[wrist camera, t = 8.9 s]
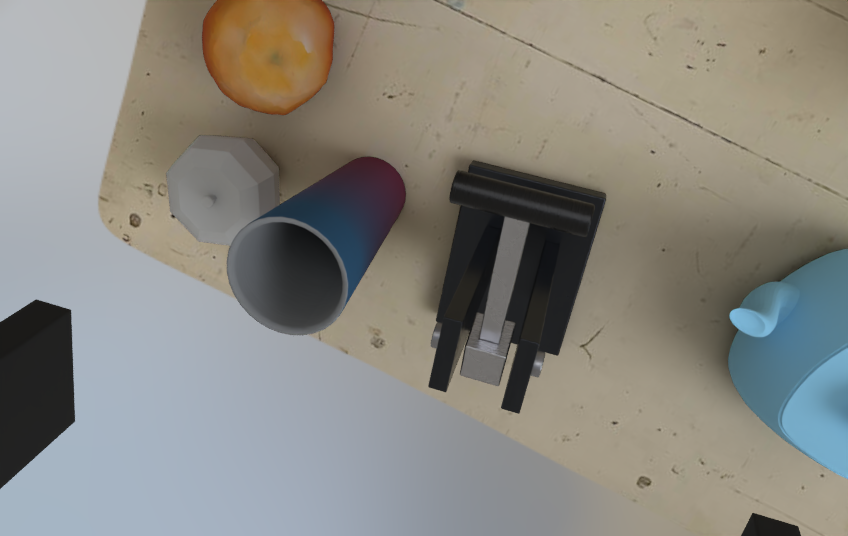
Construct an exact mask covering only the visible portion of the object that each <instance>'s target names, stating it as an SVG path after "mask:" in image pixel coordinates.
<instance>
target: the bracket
mask: <svg viewBox="0 0 848 536" xmlns="http://www.w3.org/2000/svg"><path fill="white" fill-rule="evenodd" d="M468 173H472V174H476V175H480V176H484V177H488V178H492V179H496V180H500V181H504V182H508V183H512V184H516V185H520V186H524V187H528V188H532V189H536V190H539V191H543V192H547V193H551V194H555V195H559V196H563V197H567V198H571V199H575V200H579V201H583V202H587V203H591V204H594V205H595V209H594V213H593V217H592V221H591V225H590V228H589V231H588V234H587V236H586V237H582V236H578V235H574V234H570V233H566V232H562V231H558V230H555V229H551V228H547V227H543V226H539V225H535V224H531V223H530V225H529V229H528V233H527V237H526V241H525V245H524V249H523V253H522V257H521V261H520V265H519V269H518V273H517V277H516V281H515V285H514V289H513V293H512V297H511V301H510V305H509V309H508V313H507V317H506V320H507V321H510V322H514V323H515V324H516V325H515V329H514V333H513V336H512V340H511V343H514V344H517V348H516V352H515V356H514V359H513V363H512V367H511V371H510V375H509V379H508V383H507V387H506V390H505V394H504V398H503V402H502V406H501V408H502V409H505V410H508V411H511V412H515V413H518V414H519V413H520V410H521V406H522V403H523V399H524V396H525V392H526V389H527V386H528V382H529V379H530V375H531V376H535V377H539V375H540V372H541V369H542V365H543V362H544V358H545V352H546V353H550V354H553V355H559V351H560V348H561V345H562V342H563V338H564V335H565V332H566V329H567V325H568V322H569V319H570V316H571V312H572V309H573V306H574V302H575V299H576V296H577V293H578V289H579V286H580V283H581V280H582V276H583V273H584V270H585V267H586V263H587V260H588V257H589V254H590V250H591V247H592V244H593V240H594V237H595V234H596V231H597V227H598V224H599V221H600V218H601V214H602V211H603V208H604V205H605V201H606V194H605V193H602V192H598V191H594V190H590V189H586V188H582V187H578V186H574V185H570V184H566V183H562V182H558V181H554V180H550V179H546V178H542V177H538V176H534V175H530V174H526V173H522V172H518V171H514V170H510V169H506V168H502V167H498V166H494V165H490V164H486V163H482V162H478V161H472V163H471V164H470V166H469V170H468ZM503 222H504V216H500V215H496V214H493V213H489V212H485V211H481V210H477V209H473V208H469V207H466V206H462V205H461V207H460V211H459V216H458V221H457V225H456V230H455V235H454V239H453V244H452V248H451V253H450V258H449V262H448V267H447V272H446V276H445V281H444V285H443V290H442V295H441V299H440V304H439V309H438V313H437V318H436V321H437V324H436V326H435V329H434V332H433V336H432V340H431V347H434V348H437V349H436V354H435V359H434V363H433V368H432V372H431V377H430V381H429V386H428V387H430V388H433V389H436V390H440V391H443V392H446V391H447V389H448V386H449V383H450V381H451V378H452V376H453V373H454V371H455V368H456V365H457V363H458V360H459V358H460V355H461V352H462V350H463V347H464V345H465V342H466V340H467V337H468V334H469V332H470V330H471V327H472V324H473V321H474V317H475V314H476V313H477V312H478V313H482V314H484V311H485V307H486V302H487V297H488V293H489V288H490V283H491V278H492V274H493V269H494V264H495V259H496V255H497V250H498V245H499V241H500V236H501V231H502V226H503Z"/></svg>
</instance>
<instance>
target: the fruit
mask: <svg viewBox="0 0 848 536" xmlns="http://www.w3.org/2000/svg"><path fill="white" fill-rule="evenodd" d="M333 39H334V21H333V19H332V16H331V13H330V11H329V9H328V8H327V6H326V5H325V3H324V2H323V1H322V0H217V1H216V2H215V3H214V5H213V6H212V7H211V8H210V10H209V11H208V13H207V15H206V17H205V19H204V21H203V32H202V43H203V55H204V59H205V63H206V66H207V68H208V71H209V73H210V74H211V76H212V77H213V79H214V80H215V82H216V84H217V85H218V87H219V89H220V90H221V91H222V92H223V93H224V94H225V95H226V96H227V97H229V98H230V99H231V100H233V101H234V102H235V103H237V104H238V105H240V106H243V107H246V108H249V109H252V110H254V111H258V112H262V113H267V114H279V115H286V114H288V113H290V112H291V111H293V110H295V109H296V108H298V107H299V106H301V105H302V104H304V103H305V102H307V101H308V100H309V99H311V98H312V97H313V96H314V95H315V94H316V93H317V92H318V91H319V90H320V89H321V87H322V86H323V85H324V84H325V83H326V81H327V77H328V74H329V70H330V67H331V64H332V60H333Z"/></svg>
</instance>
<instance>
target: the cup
mask: <svg viewBox="0 0 848 536" xmlns="http://www.w3.org/2000/svg"><path fill="white" fill-rule="evenodd" d="M405 196H406V193H405V186H404V183H403V180H402V178H401V176H400V175H399V173H398V172H397V171H396V170H395V168H393V167H392V166H391V165H390V164H389V163H387V162H385V161H384V160H381V159H378V158H374V157H361V158H357V159H355V160H353V161H351V162H349V163H348V164H346V165H344V166H343V167H341V168H339V169H338V170H336V171H334V172H333V173H331V174H329V175H328V176H326V177H325V178H323V179H321V180H320V181H318V182H316V183H315V184H313V185H311V186H310V187H308V188H306V189H305V190H303V191H301V192H300V193H298V194H297V195H295V196H293V197H292V198H290V199H288V200H287V201H285V202H283V203H282V204H280V205H278V206H277V207H275V208H274V209H272V210H270V211H269V212H267V213H265V214H264V215H262V216H260V217H259V218H257V219H255V220H254V221H252V222H250V223H249V224H247V225H246V226H245V227H244V228H243V229H241V230H240V231H239V232H238V234H237V235H236V236H235V238H234V239H233V241H232V243H231V246H230V248H229V251H228V257H227V274H228V279H229V284H230V286H231V288H232V291H233V293H234V295H235V297H236V298H237V300H238V302H239V303H240V305H241V306H242V307H243V308H244V309H245V310H246V312H247V313H248V314H249V315H250V316H252V317H253V318H254V319H255V320H256V321H258V322H259V323H261V324H263V325H264V326H266V327H268V328H269V329H272V330H274V331H277V332H280V333H284V334H289V335H307V334H313V333H316V332H318V331H321V330H323V329H325V328H327V327H328V326H329V325H331V324H332V323H333V322H334V321H335V320H336V319H337V318H338V317H339V316H340V314H341V312H342V311H343V309H344V307H345V306H346V304H347V302H348V301H349V299H350V297H351V295H352V294H353V292H354V290H355V289H356V287H357V285H358V284H359V282H360V280H361V278H362V277H363V275H364V273H365V272H366V270H367V268H368V267H369V265H370V263H371V262H372V260H373V258H374V256H375V255H376V253H377V251H378V250H379V248H380V246H381V245H382V243H383V241H384V239H385V238H386V236H387V234H388V233H389V231H390V229H391V228H392V226H393V224H394V222H395V221H396V219H397V217H398V216H399V214H400V212H401V210H402V209H403V206H404V203H405Z"/></svg>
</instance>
